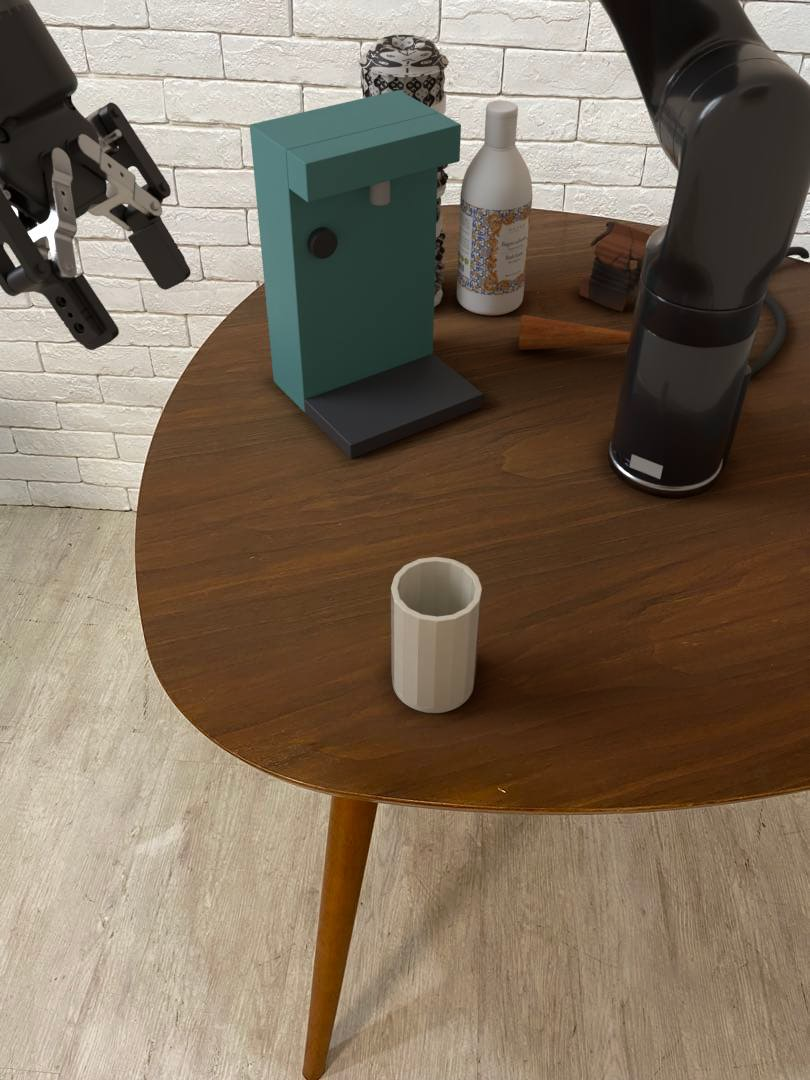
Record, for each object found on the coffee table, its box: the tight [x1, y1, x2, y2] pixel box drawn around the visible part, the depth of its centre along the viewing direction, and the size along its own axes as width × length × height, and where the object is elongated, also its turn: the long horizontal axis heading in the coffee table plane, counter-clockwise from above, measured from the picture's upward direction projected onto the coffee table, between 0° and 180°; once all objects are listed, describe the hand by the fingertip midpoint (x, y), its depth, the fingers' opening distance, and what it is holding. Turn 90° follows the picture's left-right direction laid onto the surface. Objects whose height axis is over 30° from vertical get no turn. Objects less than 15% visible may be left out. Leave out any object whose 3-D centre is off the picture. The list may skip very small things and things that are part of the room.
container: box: [390, 556, 483, 714], centre depth 69 cm, size 6×6×9 cm
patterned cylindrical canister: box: [358, 34, 450, 308], centre depth 102 cm, size 9×9×25 cm
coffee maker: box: [249, 90, 484, 459], centre depth 89 cm, size 14×14×24 cm
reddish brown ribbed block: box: [579, 221, 654, 312], centre depth 109 cm, size 12×10×8 cm
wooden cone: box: [518, 314, 631, 351], centre depth 100 cm, size 6×6×20 cm
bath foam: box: [456, 100, 533, 316], centre depth 103 cm, size 7×7×20 cm
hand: (143, 311), depth 61 cm, fingers open, 8 cm apart
